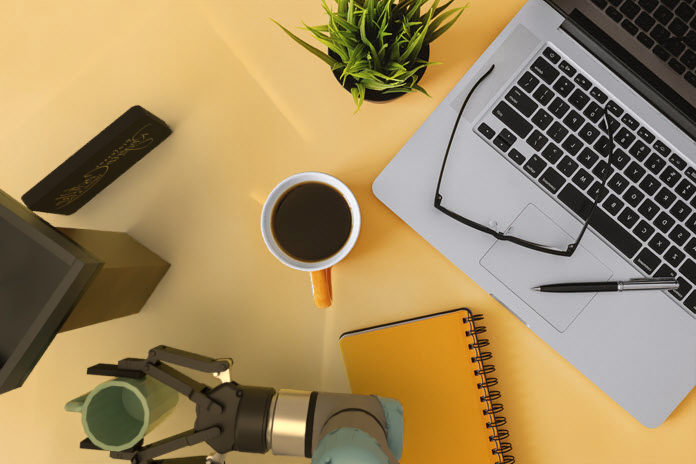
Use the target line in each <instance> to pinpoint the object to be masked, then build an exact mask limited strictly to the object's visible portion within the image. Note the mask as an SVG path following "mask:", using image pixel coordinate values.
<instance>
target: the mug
mask: <svg viewBox="0 0 696 464" xmlns="http://www.w3.org/2000/svg"><path fill="white" fill-rule="evenodd" d="M179 400H180V392H178V391H176V390H175V389H173V388H171V387H169V386H167V385H166V384H164V383H162V382H160V381H158V380H157V379H155V378H153V377H151V376H150V375H146V376H144V377H142V378H140V379H136V378H124V377H112V378H109V379H108V380H106V381H104V382H102V383H100V384H98V385H97V386H96V387H95V388H94V389H92V390H89V391H87V392H86V393H83V394H81V395H80V396H78V397H75V398H73V399H71V400H70V401H67V402H66V403H65V404H64V411H66V412H69V413H77V414H78V413H79V414H81V416H80V417H81V418H80V419H81V420H80V421H81V425H82V428H83V431H84V434H85V435H86V436H87V437H89V439H90V440H91V441H92V442H93V444H95V445H97V446H98V447H100V448H102V449H104V450H108V451H107V452H110V451H122V450H125V449H128V448H131V447H133V446H134V445H135V444H136V443H138V442H139V441H140V440H141V439H143V438H144V439H145V438H146V436H148V435H149V434H150V433H152V432H153V431H154V430H155V429H156V428H157V427H159V426H160V425H162V423H164V422H165V421H166V420H168V418H169V417H171V416H172V414H173V413H174V412H175V410H176V409H177V407H178V404H179Z"/></svg>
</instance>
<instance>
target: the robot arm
mask: <svg viewBox="0 0 696 464" xmlns="http://www.w3.org/2000/svg"><path fill="white" fill-rule="evenodd" d="M167 363H168V364H167ZM234 363H235V361H234V359H233V358H232V357H228V356H227V357H219V358H214V357H211V356H206V355H202V354H200V353H196V352H192V351H188V350H184V349H182V348H181V349H180V348H176V347H173V346H169V345H165V344H159V345H156V346H154V347H152V348H150V349H149V350H148V352H147V357H146V358H140V357H125V358H121V359H119V360H117V364H116V363H115V364H114V363H105V362H104V363H103V362H98V363H97V364H94V365H91V366H88V367H86V375H87V376H88V375H89V376H90V375H91V376H101V377H112V378H114V377H124V378H136V379H140V378H142V377H144V376H146V375H150V376H151V377H153V378H155V379H157V380H158V381H160V382H162V383H164V384H166V385H167V386H169V387H171V388H173V389H175V390H176V391H178V392H179V394H182V395H183V396H185V397H187V398H188V400H189V401H190V402H192V403H194V404H195V415H196V418H195V421H194V424H193V428H191V429H188V430H185V431H183V432H179V433H176V434H174V435H171V436H168V437H165V438H162V439H159V440H157V441H154V442H152V443H148V444H146V445H144V441H145V437H144V438H143V439H141V440H140V441H139V442H138V443H136V444H135V445H134V446H133V447H131V448H128V449H125V450H122V451H108V450H104V449H102V448H100V447H98V446H97V445H95V444H93V442H92V441H91V440H90V439H89V437H88V436H87V437H86V438H84V439H82V440H81V441H80V442H79V449H80V450H81V449H83V450H94V451H103V452H104V451H105V452H109V458H111V459H112V460H122V461H130V464H227V462H226V460H225V459H226V456H227V454H228V453H230V452H231V453H232V452H238V453H244V454H246V453H247V454H255V455H257V454H258V455H265V454H267V453H268V452H269V451H270V452H271V454H272V455H273V456H278V457H289V458H290V457H291V458H305V459H311V461H310V464H401V463H400V461H401V460H402V455H403V447H404V431H405V429H404V428H405V422H404V421H405V420H404V419H405V418H404V408H403V404H402V403H401V402H400V400H398V399H397V398H394V397H388V396H387V397H386V396H381V395H378V394H374V393H371V394H368V395H367V394H355V393H345V392H342V393H341V392H329V391H316V390H302V389H293V388H284V387H283V388H280V390H279V391H278V392H277V390H276V389H275V388H274V387H272V386H258V385H249V384H246V385H244V384H240V383H238V382H237V381H235V380H233V374H232V367H233V366H234ZM169 364H171V365H176V366H179V367H183V368H186V369H191V370H194V371H198V372H201V373H205V374H206V373H207V374H212V376H213V377H214V378H217V379H220V381H221V383H219V384H218V385H216V386H214V387H211V386H210V385H209V384H207V383H203V382H199V381H197V380H195V379H194V378H192V377H190V376H188V375H187V374H186V373H183V372H181V371H180V370H178V369H176V368H174V367H172V366H170V365H169ZM204 442H205V443H206V444H207V445H208V446H209V448H211V449H212V450H213V451H215V452H210V453H209V454H208V455H207V454H206V455H205V454H204V455H192V456H190V455H189V456H179V457H170V458H160V459H159V458H158V457H160V456H163V455H167V454H169V453H172V452H175V451H178V450H180V449H183V448H186V447H192V446H195V445H198V444H200V443H204ZM155 458H156V459H155ZM157 458H158V459H157Z"/></svg>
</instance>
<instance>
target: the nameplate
mask: <svg viewBox="0 0 696 464" xmlns="http://www.w3.org/2000/svg"><path fill="white" fill-rule="evenodd" d="M172 134H173V130H172V129H171V128H170V127H169V125H168V124H167V123H166V122H165V120H163V119H162V118H160V117H159V116H157V115H156V114H154V113H152V111H149V110H148V109H146V108H144V107H143V106H142V105H140V104H135V105H132V106H131V107H129V108H128V109H127V110H126V111H125V112H123V113H122V114H121V115H120V116H118V117H117V118H116V119H115V120H114V121H112V122H111V123H110V124H108V125H107V126H106V127H105V128H103V129H102V130H101V131H100V132H98V133H97V134H96V135H95V136H94V137H92V138H91V139H90V140H89V141H88V142H86V143H85V144H84V145H83V146H82V147H80V148H79V149H78V150H76V151H75V152H74V153H73V154H71V155H70V156H69V157H68V158H66V159H65V160H64V161H63V162H62V163H60V164H59V165H58V166H57V167H55V168H54V169H53V170H52V171H50V172H49V173H48V174H47V175H46V176H45V177H43V178H42V179H41V180H39V181H38V182H37V183H36V184H35V185H33V186H32V187H31V188H30V189H28V190H27V191H26V192H25V193H24V194H22V195H21V197H20V200H21V201H22V203H23V205H24V206H26V207H27V208H28V209H30V210H31V211H33V212H34V213H35V212H37V213H43V214H44V213H45V214H50V215H51V214H52V215H60V216H71V215H74V214H75V213H77V212H78V211H79V210H81V208H82V207H85V205H86V204H88V203H89V202H90V201H91V200H92V199H94V198H95V197H96V196H98V194H100V193H101V192H102V191H104V190H105V189H106V188H107V187H109V186H110V185H111V184H113V183H114V182H115V181H116V180H118V179H119V177H121V176H122V175H124V174H125V173H126V172H127V171H129V170H130V169H131V168H132V167H133V166H135V165H136V164H137V163H138V162H140V160H142V159H144V157H146V156H147V155H148V154H150V153H151V152H152V151H153V150H154V149H156V148H157V147H158V146H159V145H160V144H162V143H163V142H164V141H165V140H167V139H168V138H169V137H170V136H171V135H172Z"/></svg>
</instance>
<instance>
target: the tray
mask: <svg viewBox="0 0 696 464" xmlns="http://www.w3.org/2000/svg"><path fill="white" fill-rule="evenodd" d="M55 227H56V226H54V225H52V224H51V223H50V222H48V221H47V220H46V219H44V218H43V217H42V216H40V215H38V214H37V213H35V211H31V210H30V209H28V208H27V206H26V205H25V204H24V203H22V202H20V201H19V200H17V199H16V198H14V197H13V196H11V195H10V194H9V193H7V192H6V191H4V190H3V189H2V188H0V396H1V395H3V394H6V393H9V392H12V391H14V390H17V389H19V388H22V386H24V384H25V382H26V381H27V380H28V378H29V376H30V375H31V374H32V372H33V371H34V369H35V368H36V366H37V364H38V363H39V362H40V360H41V359H42V357H43V356H44V354H45V353H46V352H47V350H48V348H49V347H50V346H51V344H52V343H53V341H54V340H55V338H56V337H57V335H58V332H59V331H60V329H61V328H62V326H63V325H64V323H65V322H66V320H67V319H68V318H69V316H70V315H71V313H72V312H73V310H74V309H75V307H76V306H77V304H78V303H79V301H80V300H81V298H82V297H83V295H84V294H85V292H86V291H87V290H88V288H89V287H90V285H91V284H92V282H93V281H94V279H95V278H96V276H97V275H98V273H99V272H100V270H101V269H102V267H103V266H104V265H105V262H104V261H102V260H101V259H99V258H98V257H96V256H95V255H94V254H92V253H91V252H89V251H88V250H87V249H85V248H84V247H82V246H81V245H79V244H78V243H77V242H75V241H74V240H72V239H71V238H70V237H68V236H67V235H65V234H64V233H62V232H61V231H60V230H58V229H57V228H55Z"/></svg>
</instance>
